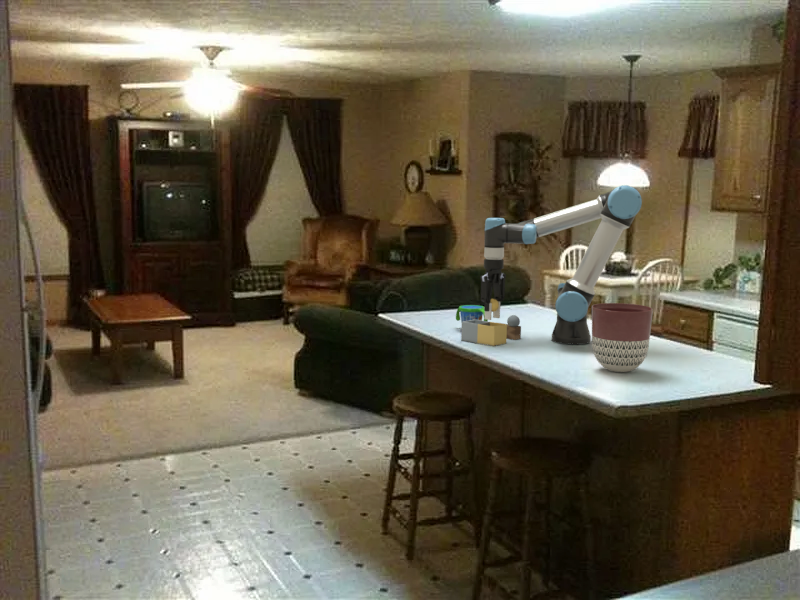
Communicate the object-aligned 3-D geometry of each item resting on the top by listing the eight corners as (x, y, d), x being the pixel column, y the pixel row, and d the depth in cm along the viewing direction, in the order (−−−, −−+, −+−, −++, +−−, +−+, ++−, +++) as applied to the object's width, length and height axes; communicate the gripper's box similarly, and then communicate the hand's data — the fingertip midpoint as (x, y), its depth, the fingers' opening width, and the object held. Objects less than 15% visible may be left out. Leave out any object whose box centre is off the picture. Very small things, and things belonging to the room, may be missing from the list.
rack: (520, 338, 331) (521, 326, 330) (514, 339, 328) (515, 327, 327) (496, 334, 339) (496, 322, 338) (490, 335, 336) (490, 323, 335)
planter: (613, 379, 263) (616, 313, 260) (577, 367, 281) (579, 304, 278) (661, 374, 271) (665, 310, 268) (623, 362, 289) (626, 301, 286)
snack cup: (449, 329, 350) (449, 305, 349) (467, 326, 357) (467, 303, 356) (475, 334, 338) (475, 310, 337) (493, 331, 345) (494, 307, 344)
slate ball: (522, 327, 331) (522, 315, 330) (514, 329, 327) (515, 316, 326) (511, 326, 334) (512, 313, 333) (504, 327, 330) (504, 315, 330)
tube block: (506, 343, 321) (506, 324, 320) (493, 346, 315) (494, 326, 314) (474, 337, 331) (474, 319, 330) (461, 340, 325) (461, 321, 324)
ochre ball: (501, 311, 319) (501, 298, 318) (493, 313, 315) (493, 300, 315) (490, 310, 322) (491, 297, 322) (483, 311, 319) (483, 298, 318)
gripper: (499, 256, 325) (497, 315, 328) (471, 259, 312) (470, 320, 315) (515, 257, 320) (513, 317, 323) (487, 260, 307) (486, 322, 310)
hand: (492, 318), depth 319 cm, fingers closed on ochre ball, 5 cm apart
